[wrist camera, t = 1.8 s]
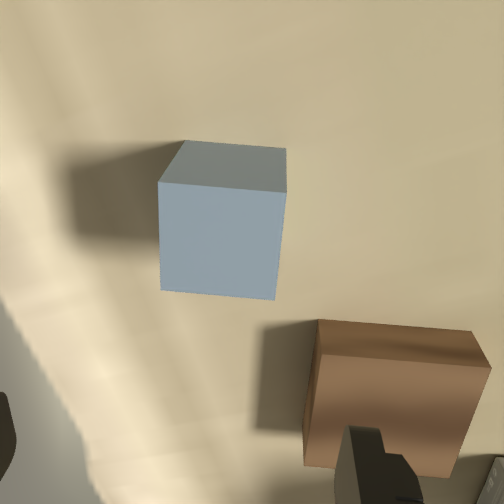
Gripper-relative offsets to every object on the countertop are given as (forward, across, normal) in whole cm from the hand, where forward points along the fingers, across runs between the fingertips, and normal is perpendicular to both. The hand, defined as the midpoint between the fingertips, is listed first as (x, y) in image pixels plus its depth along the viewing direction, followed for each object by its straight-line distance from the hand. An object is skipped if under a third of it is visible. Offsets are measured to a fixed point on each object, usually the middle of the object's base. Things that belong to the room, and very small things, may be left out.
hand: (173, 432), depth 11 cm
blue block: (+15, 0, 0) cm, 16 cm away
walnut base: (+16, -10, +12) cm, 22 cm away
